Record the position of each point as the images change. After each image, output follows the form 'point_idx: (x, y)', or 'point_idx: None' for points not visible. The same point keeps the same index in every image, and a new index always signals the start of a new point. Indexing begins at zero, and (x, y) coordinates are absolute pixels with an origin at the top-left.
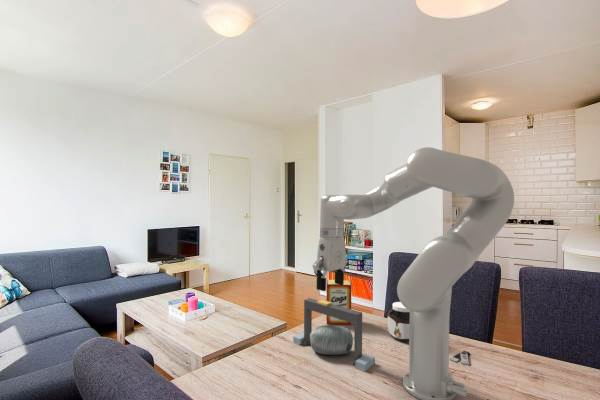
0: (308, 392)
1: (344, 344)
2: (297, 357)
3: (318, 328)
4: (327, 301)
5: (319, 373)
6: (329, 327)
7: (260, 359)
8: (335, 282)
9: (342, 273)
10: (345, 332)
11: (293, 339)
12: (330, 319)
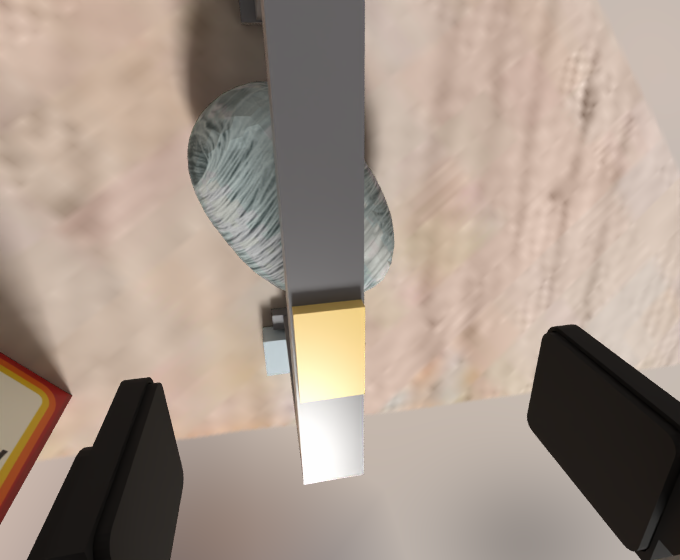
0: (603, 43)
1: None
2: (425, 253)
3: None
4: (301, 348)
5: (472, 101)
6: None
7: (513, 326)
8: (179, 476)
9: (93, 547)
10: None
11: None
12: (43, 402)
